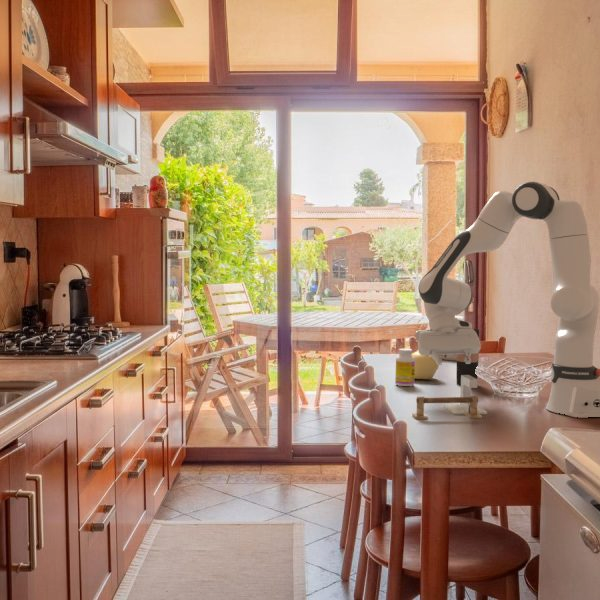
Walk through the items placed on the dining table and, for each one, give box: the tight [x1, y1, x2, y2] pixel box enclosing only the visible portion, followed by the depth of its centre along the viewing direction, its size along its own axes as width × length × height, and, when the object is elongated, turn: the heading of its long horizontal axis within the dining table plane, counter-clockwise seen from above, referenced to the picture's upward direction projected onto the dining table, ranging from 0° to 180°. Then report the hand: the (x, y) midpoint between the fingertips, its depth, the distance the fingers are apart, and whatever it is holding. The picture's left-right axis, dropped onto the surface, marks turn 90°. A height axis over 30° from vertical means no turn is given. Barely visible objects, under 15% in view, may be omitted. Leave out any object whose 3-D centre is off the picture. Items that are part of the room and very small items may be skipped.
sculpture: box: [412, 349, 440, 381], centre depth 271 cm, size 11×12×11 cm
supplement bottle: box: [394, 348, 415, 387], centre depth 258 cm, size 7×7×13 cm
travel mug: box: [456, 328, 480, 387], centre depth 260 cm, size 8×8×20 cm
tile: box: [443, 404, 488, 416], centre depth 220 cm, size 10×10×1 cm
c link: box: [459, 375, 478, 413], centre depth 217 cm, size 2×7×10 cm, turn 7°
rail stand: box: [411, 395, 483, 420], centre depth 211 cm, size 20×4×6 cm, turn 97°
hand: (454, 363), depth 231 cm, fingers open, 8 cm apart
